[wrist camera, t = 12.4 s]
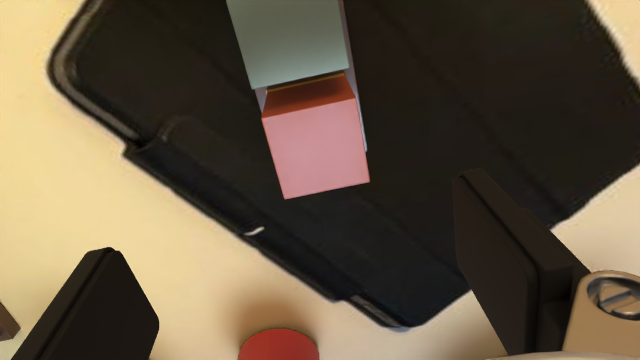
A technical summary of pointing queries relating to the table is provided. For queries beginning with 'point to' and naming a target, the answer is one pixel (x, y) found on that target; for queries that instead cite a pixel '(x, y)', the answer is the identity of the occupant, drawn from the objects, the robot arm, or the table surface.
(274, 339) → the beer can
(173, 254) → the table surface
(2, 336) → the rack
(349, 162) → the coral pink cube
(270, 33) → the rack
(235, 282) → the table surface
